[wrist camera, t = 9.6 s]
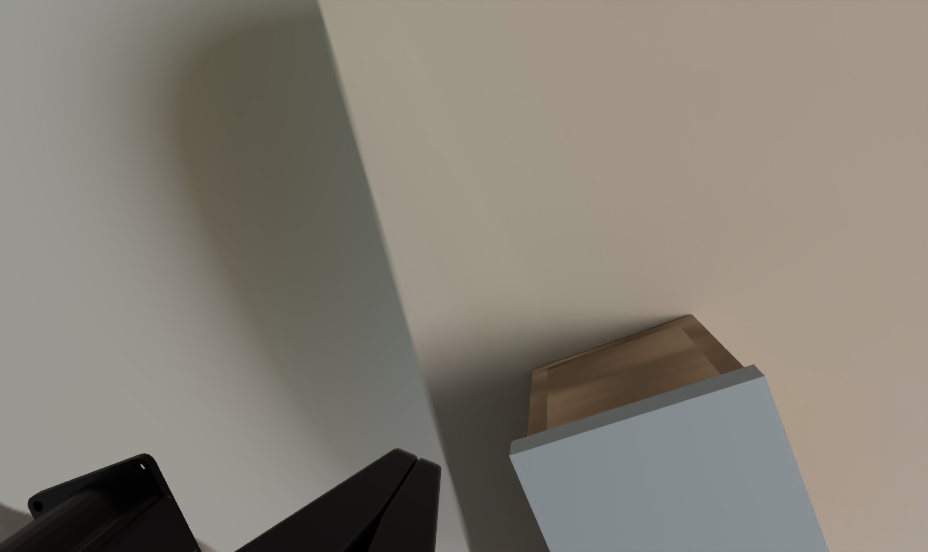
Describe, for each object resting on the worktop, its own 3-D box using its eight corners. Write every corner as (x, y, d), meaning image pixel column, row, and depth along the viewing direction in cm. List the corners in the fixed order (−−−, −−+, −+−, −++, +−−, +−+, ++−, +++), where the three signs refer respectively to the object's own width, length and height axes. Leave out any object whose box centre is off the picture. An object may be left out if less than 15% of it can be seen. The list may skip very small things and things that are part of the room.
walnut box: (645, 642, 23) (678, 804, 17) (532, 370, 22) (526, 444, 16) (800, 604, 22) (893, 764, 16) (691, 314, 20) (749, 372, 15)
